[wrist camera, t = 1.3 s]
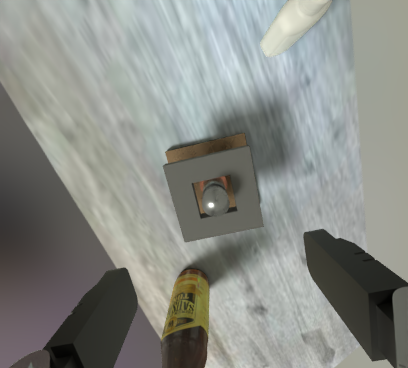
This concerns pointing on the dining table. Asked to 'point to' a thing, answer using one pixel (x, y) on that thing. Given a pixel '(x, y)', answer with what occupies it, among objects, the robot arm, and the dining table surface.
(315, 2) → the eye dropper bottle
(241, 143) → the bronze plate with post
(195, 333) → the sauce bottle
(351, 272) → the robot arm
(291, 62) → the dining table surface
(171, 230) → the dining table surface
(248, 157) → the collar
